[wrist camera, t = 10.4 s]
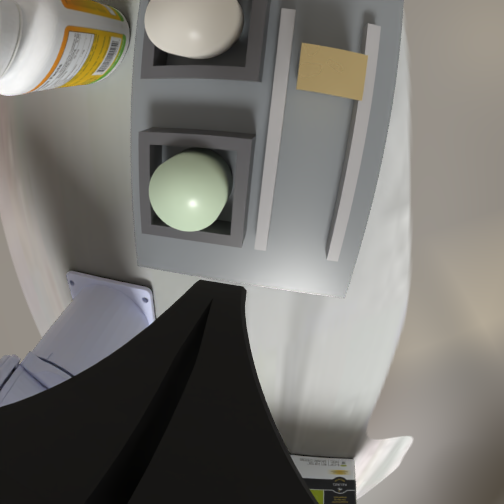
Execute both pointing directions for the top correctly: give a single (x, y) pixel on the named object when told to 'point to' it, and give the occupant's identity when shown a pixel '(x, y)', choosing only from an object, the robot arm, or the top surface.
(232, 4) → the white button
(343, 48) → the panel
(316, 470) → the tea box
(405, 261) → the top surface
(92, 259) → the top surface
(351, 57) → the tan wooden block
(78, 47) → the supplement bottle
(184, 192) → the sage button
